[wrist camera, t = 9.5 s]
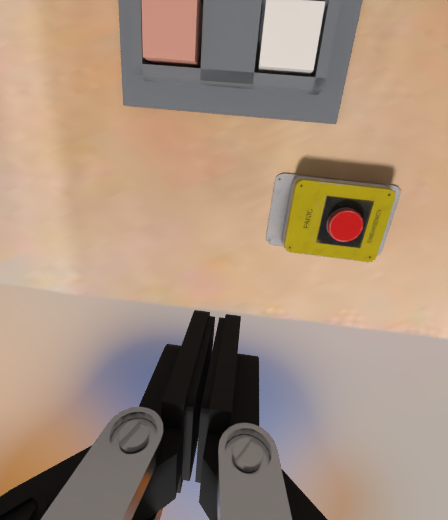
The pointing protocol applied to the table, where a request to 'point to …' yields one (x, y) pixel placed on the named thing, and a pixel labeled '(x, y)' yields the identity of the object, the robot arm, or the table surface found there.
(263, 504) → the robot arm
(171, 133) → the table surface
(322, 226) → the emergency button
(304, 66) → the cream key
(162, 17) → the terracotta key
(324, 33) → the key panel
